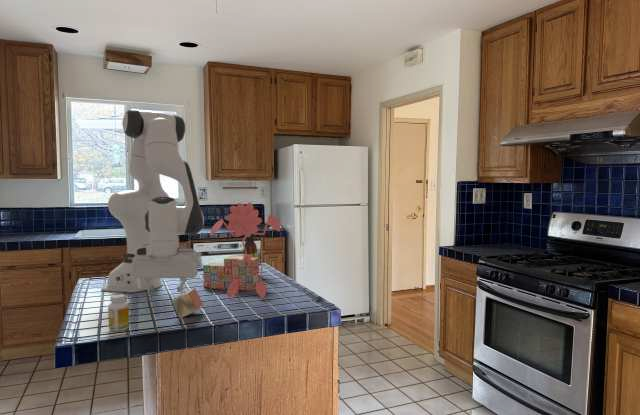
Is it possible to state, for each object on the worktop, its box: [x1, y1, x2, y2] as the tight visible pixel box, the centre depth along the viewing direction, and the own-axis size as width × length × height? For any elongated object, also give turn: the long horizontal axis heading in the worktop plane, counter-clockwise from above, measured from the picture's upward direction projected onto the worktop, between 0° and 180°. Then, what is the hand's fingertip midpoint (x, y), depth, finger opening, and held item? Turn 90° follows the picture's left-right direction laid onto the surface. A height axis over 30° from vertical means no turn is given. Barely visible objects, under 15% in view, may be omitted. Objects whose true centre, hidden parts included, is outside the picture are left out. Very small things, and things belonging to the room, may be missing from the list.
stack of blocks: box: [202, 255, 260, 292], centre depth 178 cm, size 21×6×12 cm, turn 76°
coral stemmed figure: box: [210, 202, 281, 308], centre depth 158 cm, size 15×26×35 cm, turn 86°
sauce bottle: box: [242, 234, 259, 258], centre depth 199 cm, size 6×6×20 cm
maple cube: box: [172, 288, 204, 319], centre depth 142 cm, size 6×6×6 cm
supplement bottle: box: [107, 293, 130, 332], centre depth 130 cm, size 5×5×10 cm
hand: (165, 291), depth 142 cm, fingers open, 8 cm apart
